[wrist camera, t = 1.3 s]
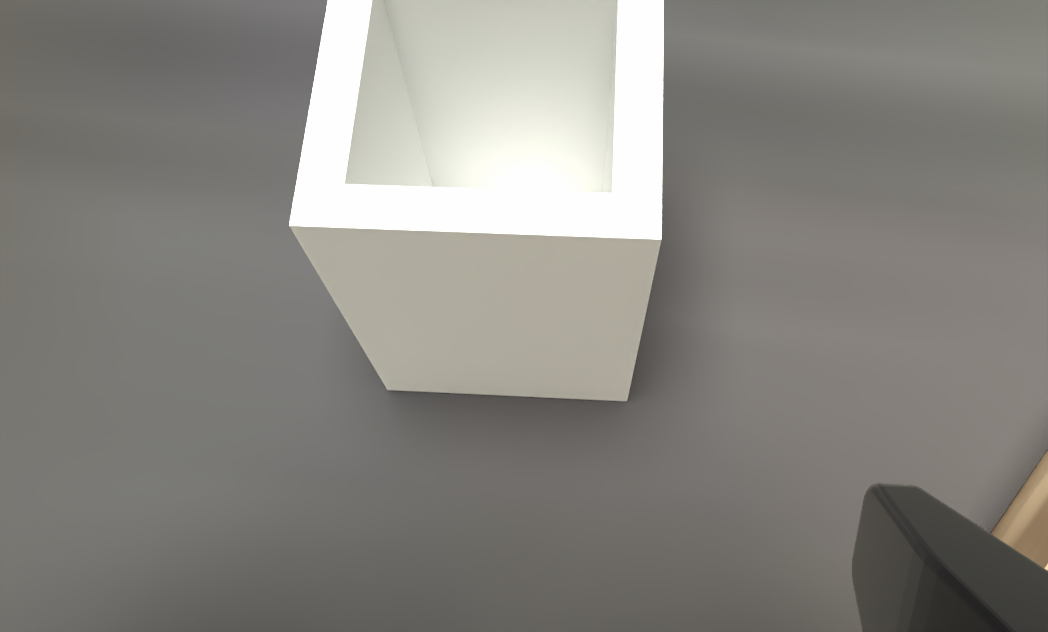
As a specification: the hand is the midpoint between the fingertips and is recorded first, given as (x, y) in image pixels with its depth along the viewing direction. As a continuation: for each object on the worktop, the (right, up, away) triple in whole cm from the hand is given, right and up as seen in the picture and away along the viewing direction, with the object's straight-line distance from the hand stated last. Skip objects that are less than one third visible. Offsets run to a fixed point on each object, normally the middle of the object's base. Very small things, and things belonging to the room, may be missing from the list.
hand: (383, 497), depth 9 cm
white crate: (+1, +3, +16) cm, 16 cm away
